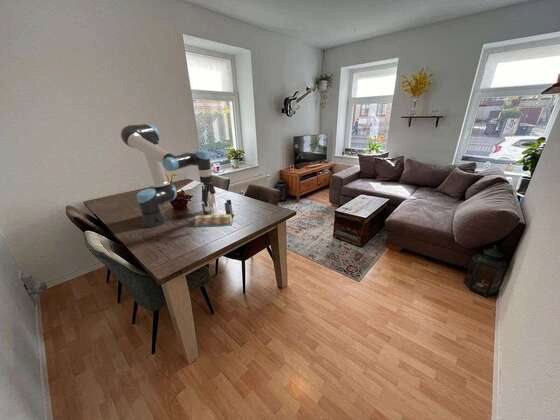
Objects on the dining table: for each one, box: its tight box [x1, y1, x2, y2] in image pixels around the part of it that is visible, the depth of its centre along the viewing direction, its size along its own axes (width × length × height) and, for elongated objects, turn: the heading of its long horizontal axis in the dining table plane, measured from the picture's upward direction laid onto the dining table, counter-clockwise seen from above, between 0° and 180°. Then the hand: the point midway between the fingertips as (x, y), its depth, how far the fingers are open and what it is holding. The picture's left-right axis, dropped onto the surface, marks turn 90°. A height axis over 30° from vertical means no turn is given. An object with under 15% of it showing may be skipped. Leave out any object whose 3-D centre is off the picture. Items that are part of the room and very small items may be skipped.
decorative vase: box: [201, 183, 220, 215], centre depth 167 cm, size 11×11×25 cm
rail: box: [194, 214, 233, 225], centre depth 151 cm, size 24×4×5 cm, turn 89°
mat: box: [193, 219, 234, 227], centre depth 152 cm, size 26×7×1 cm, turn 89°
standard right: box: [224, 199, 235, 220], centre depth 158 cm, size 5×7×12 cm
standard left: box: [201, 201, 212, 215], centre depth 158 cm, size 5×7×12 cm
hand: (210, 206), depth 148 cm, fingers open, 13 cm apart
